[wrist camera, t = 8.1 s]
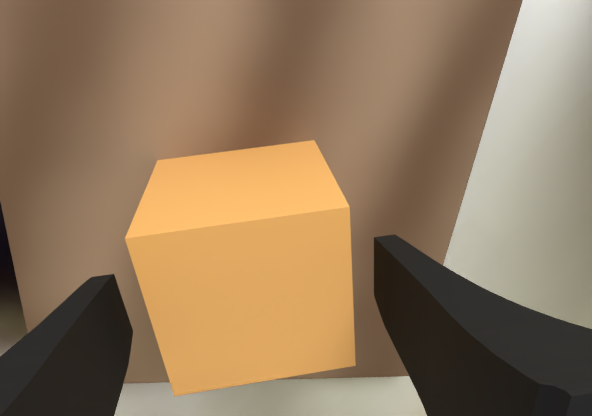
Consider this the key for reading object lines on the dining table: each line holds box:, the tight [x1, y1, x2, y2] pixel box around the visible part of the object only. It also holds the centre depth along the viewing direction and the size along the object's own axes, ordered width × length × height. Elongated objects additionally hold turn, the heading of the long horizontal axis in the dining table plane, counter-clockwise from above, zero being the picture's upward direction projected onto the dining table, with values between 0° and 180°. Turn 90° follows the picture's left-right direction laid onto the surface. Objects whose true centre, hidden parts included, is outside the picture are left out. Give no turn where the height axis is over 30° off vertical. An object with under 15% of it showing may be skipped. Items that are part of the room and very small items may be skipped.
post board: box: [0, 0, 522, 383], centre depth 15 cm, size 16×16×5 cm
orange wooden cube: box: [125, 140, 356, 396], centre depth 14 cm, size 5×5×5 cm
